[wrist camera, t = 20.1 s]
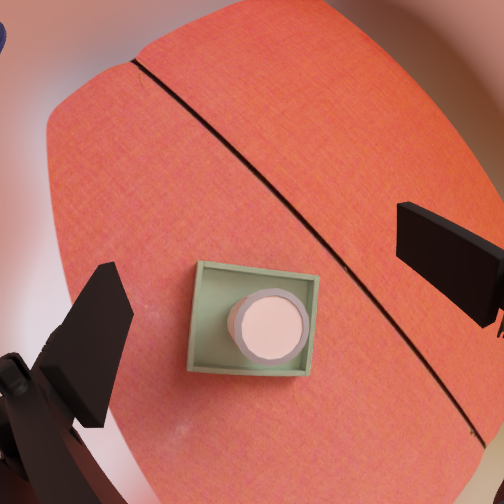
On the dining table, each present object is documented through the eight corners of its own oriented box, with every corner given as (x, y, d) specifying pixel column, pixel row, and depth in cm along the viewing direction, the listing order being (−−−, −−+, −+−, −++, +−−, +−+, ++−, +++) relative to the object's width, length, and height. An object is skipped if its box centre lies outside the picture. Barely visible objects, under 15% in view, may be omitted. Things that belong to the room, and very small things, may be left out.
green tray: (185, 366, 31) (186, 371, 29) (196, 262, 33) (198, 259, 30) (301, 372, 34) (309, 376, 32) (311, 277, 36) (319, 275, 34)
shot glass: (279, 355, 33) (305, 368, 26) (217, 350, 31) (229, 364, 24) (286, 294, 34) (314, 292, 27) (225, 286, 32) (239, 282, 26)
